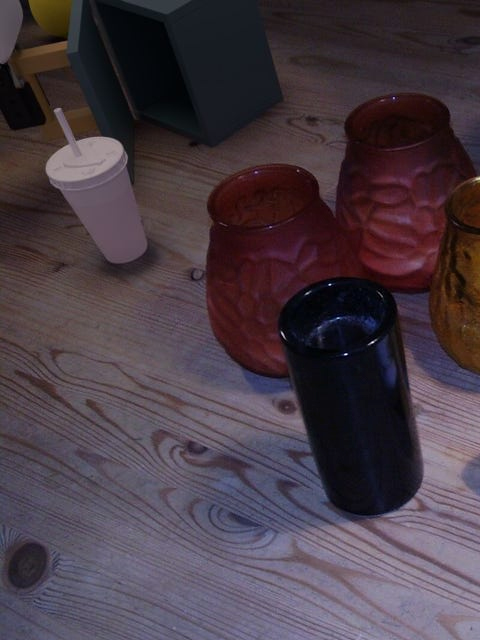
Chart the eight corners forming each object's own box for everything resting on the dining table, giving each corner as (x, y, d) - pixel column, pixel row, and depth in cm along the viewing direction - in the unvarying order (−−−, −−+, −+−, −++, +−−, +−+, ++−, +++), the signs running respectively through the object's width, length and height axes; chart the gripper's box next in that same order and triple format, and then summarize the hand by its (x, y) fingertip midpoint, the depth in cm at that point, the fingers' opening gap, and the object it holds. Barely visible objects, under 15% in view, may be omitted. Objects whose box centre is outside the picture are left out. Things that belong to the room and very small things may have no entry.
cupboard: (213, 149, 98) (166, 14, 88) (135, 118, 104) (83, -12, 94) (284, 100, 103) (248, -33, 93) (206, 73, 109) (164, -55, 99)
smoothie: (122, 221, 91) (60, 84, 81) (177, 236, 88) (120, 95, 78) (74, 265, 87) (3, 126, 77) (131, 281, 85) (65, 140, 75)
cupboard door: (67, 198, 94) (2, 67, 84) (73, 132, 103) (15, 6, 93) (133, 183, 95) (77, 51, 85) (134, 119, 103) (83, -8, 93)
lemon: (36, 44, 118) (7, -21, 112) (73, 23, 121) (46, -42, 115) (66, 54, 116) (37, -13, 110) (102, 32, 118) (76, -34, 113)
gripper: (-96, -116, 83) (4, 83, 96) (-147, -38, 72) (-27, 175, 85) (-5, -132, 83) (82, 69, 96) (-42, -56, 72) (62, 159, 85)
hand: (30, 117), depth 90 cm, fingers closed on cupboard door
